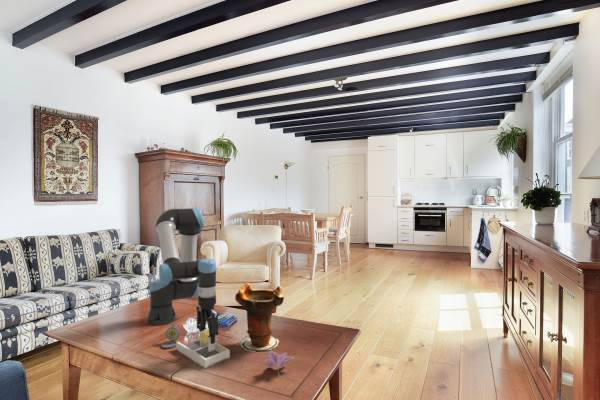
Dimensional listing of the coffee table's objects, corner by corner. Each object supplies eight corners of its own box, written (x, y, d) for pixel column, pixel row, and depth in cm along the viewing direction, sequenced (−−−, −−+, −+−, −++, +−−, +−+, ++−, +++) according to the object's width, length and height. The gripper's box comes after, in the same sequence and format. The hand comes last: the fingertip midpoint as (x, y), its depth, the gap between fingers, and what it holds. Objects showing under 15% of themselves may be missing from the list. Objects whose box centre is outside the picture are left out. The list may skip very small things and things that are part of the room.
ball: (197, 344, 146) (197, 330, 146) (209, 339, 150) (209, 326, 150) (205, 348, 142) (205, 334, 141) (217, 343, 146) (217, 329, 146)
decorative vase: (286, 352, 149) (283, 290, 149) (235, 356, 148) (231, 293, 147) (285, 332, 170) (282, 278, 170) (240, 336, 169) (237, 281, 168)
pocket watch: (162, 350, 152) (162, 328, 152) (160, 342, 159) (160, 322, 159) (181, 346, 156) (181, 325, 156) (178, 339, 163) (178, 319, 163)
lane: (176, 349, 152) (176, 342, 152) (199, 341, 161) (199, 334, 161) (205, 368, 136) (205, 360, 136) (229, 357, 145) (229, 349, 145)
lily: (298, 373, 134) (295, 348, 139) (287, 376, 124) (283, 348, 129) (272, 378, 137) (269, 353, 142) (258, 381, 127) (256, 354, 132)
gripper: (188, 292, 149) (188, 344, 149) (211, 302, 136) (212, 358, 137) (202, 289, 155) (203, 338, 155) (227, 297, 142) (227, 351, 142)
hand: (207, 347), depth 146 cm, fingers closed on ball, 6 cm apart
